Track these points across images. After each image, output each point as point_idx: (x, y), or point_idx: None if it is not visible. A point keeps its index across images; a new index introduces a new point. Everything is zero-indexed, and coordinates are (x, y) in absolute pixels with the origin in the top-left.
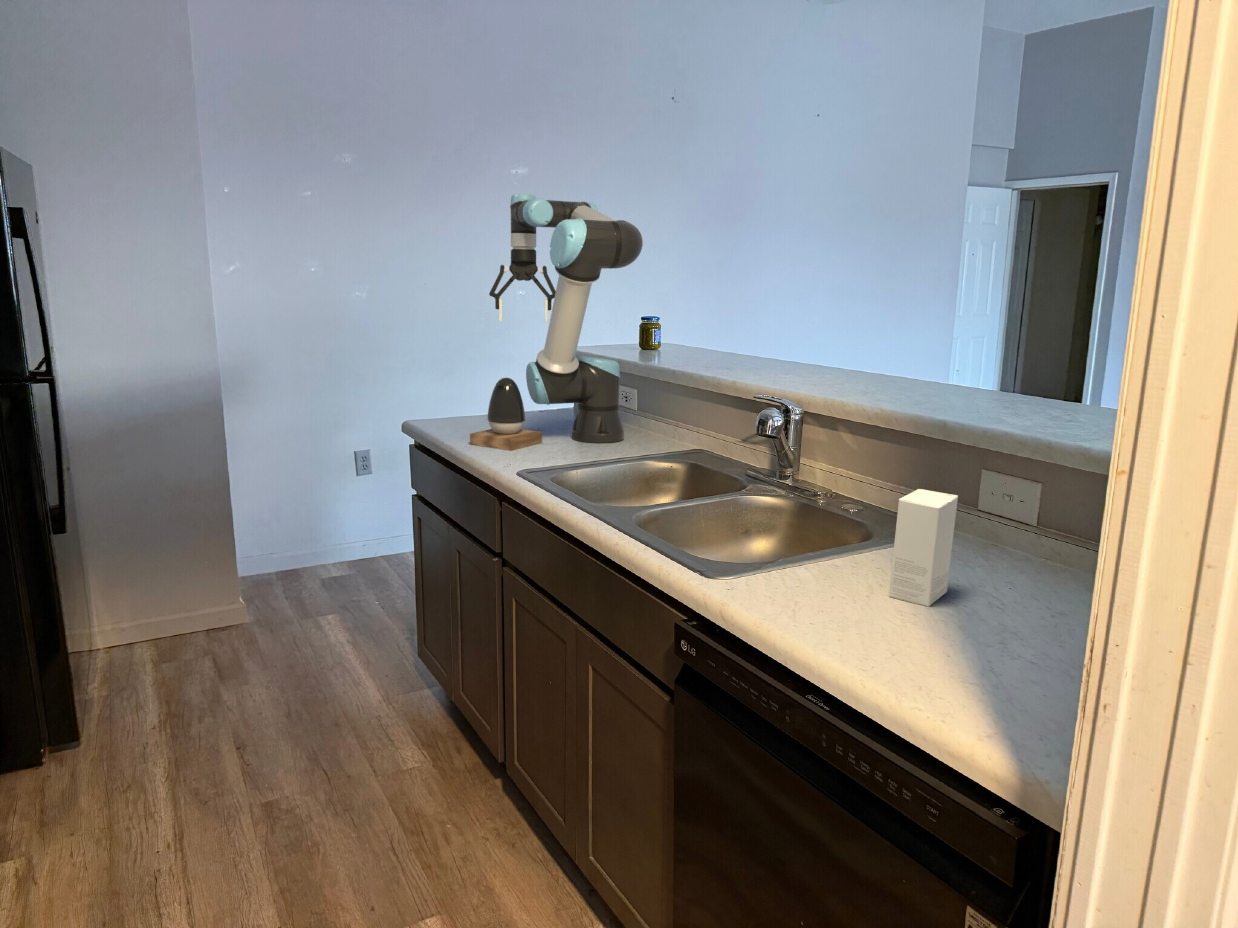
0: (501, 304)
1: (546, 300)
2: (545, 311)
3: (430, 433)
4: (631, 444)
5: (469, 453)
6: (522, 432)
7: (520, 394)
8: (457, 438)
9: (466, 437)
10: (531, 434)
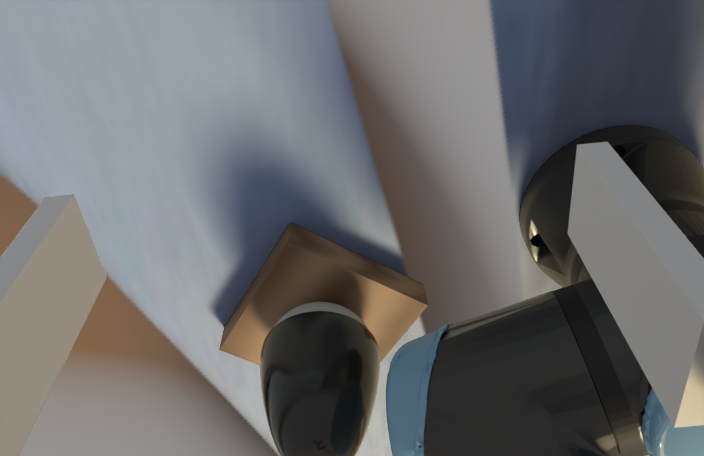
0: (33, 415)
1: (691, 419)
2: (613, 306)
3: (34, 190)
4: None
5: (252, 408)
6: (368, 317)
7: (368, 421)
8: (157, 255)
9: (179, 238)
10: (397, 339)
